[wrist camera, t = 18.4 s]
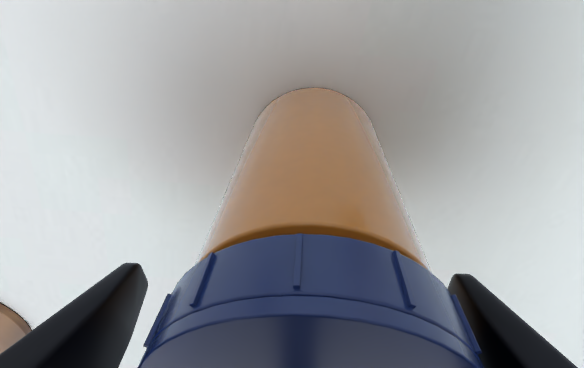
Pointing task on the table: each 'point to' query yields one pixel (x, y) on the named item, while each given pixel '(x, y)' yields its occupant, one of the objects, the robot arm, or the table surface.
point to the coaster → (11, 328)
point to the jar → (313, 179)
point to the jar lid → (310, 310)
